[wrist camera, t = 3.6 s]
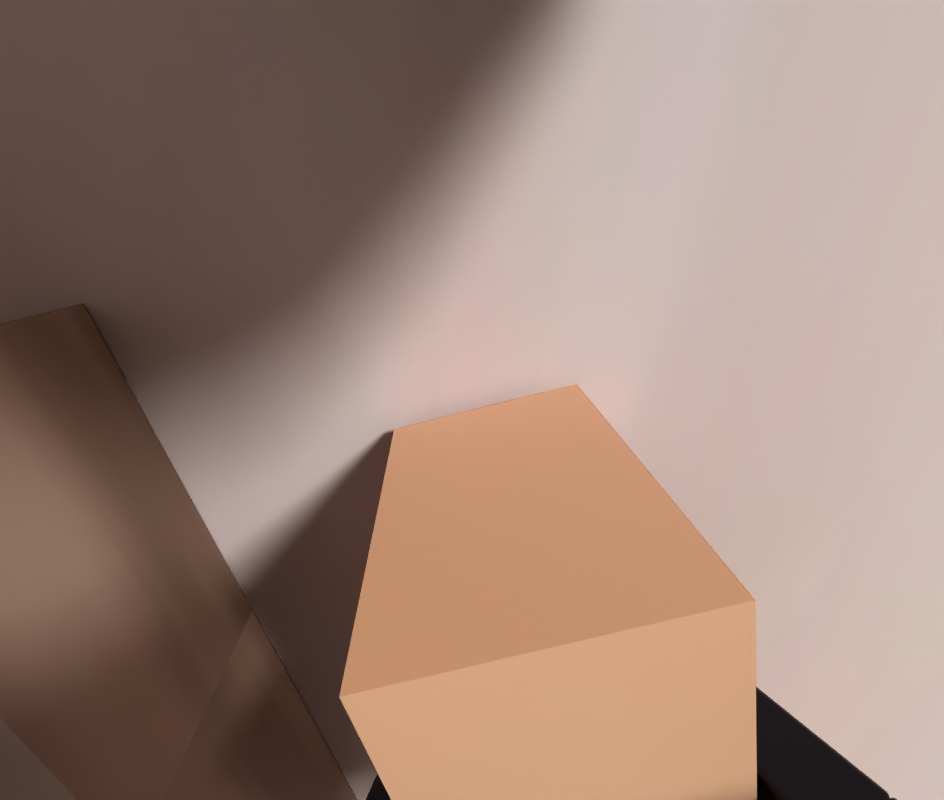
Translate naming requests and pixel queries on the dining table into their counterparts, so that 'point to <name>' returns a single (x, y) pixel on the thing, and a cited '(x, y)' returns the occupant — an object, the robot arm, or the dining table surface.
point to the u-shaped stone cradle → (125, 605)
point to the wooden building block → (546, 621)
